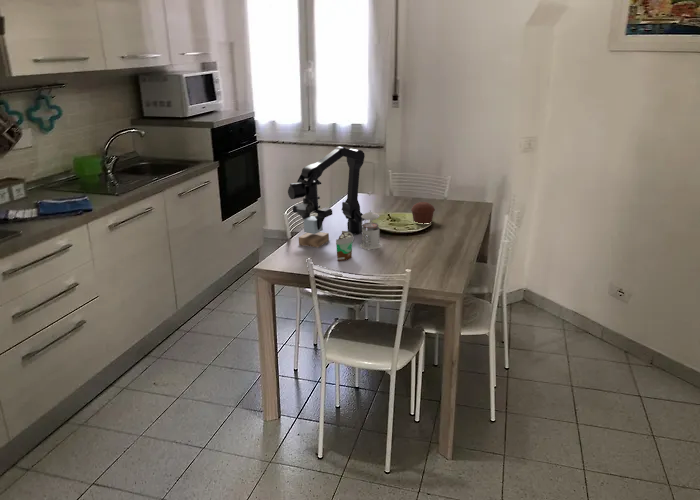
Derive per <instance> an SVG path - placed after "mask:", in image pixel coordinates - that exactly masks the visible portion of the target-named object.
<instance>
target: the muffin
mask: <svg viewBox="0 0 700 500" xmlns="http://www.w3.org/2000/svg"><path fill="white" fill-rule="evenodd" d="M410 209H411V210H410V211H411V213H412V219H413V220H412V221H413V222H414V221H415V222H418V223H423V224H424V223H430V222H431V223H432V222H433V219H434V218H433V217H434V214H435V211H436V209H435V206H433V204H432V203H429V202H427V201H420V202H417V203H415V204H413V205H412V208H410Z"/></svg>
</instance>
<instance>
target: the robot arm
mask: <svg viewBox="0 0 700 500" xmlns="http://www.w3.org/2000/svg"><path fill="white" fill-rule="evenodd" d="M365 156H366V154H365V152H364V151H363V150H361V149H356V148H349V149H348V148H346V147H345V146H336V147H335V148H334V149H333V150H332V151H331V152H329V153H328V154H326V155H325V156H324V157H322V158H321V159H320V160H318V161H317V162H313V163H311V164H308V165H306V166H303V168H302V169H301V174H300V176H299V178H298V179H297V181H296V182H295V183H293V182H292V183H289V186H288V189H287V194H288V198H290V200H296V199H300V198H301V199H302V203H298V204H295V205H293V207H292V213H296V214H297V215H299V216H301V217H302V219H305V218H308V217H310V216H311V214H312V213H315V214H317V216H315V218H316V219H317V227H318V230H320V228H321V225H322V226H323V223H324V220H325V219H326V218H327V217H330V216H332V215H333V209H332V208H330V207H323V208H321V205H320V204H319V200H320V199H321V197H320V196H318V195H319V193H318V192H319V191H318V186H319V185H322V184H323V183H322V182H321V180H319V178H320V177H321V176H322V174H323V173H324V171H325V170H326V169H329V168H330V166H332V165H333V164H335V163H336V162H337V161H339V160H341V158H343V157H345V158H346V163H347V165H348V180H347V181H348V182H347V195H346V199H345V200H344V201H342V203H341V205H342V206H341V211H342V214H343V215H344V216H345V218H346V220H347V223H346V224H347V226H346V227H347V231H348V232H350V233H352V235H353V234H354V235H359V234H362V227H363V226H362V225H363V221H364V222H365V220H364V219H363V220H362V217H361V216H362V215H363V214H364V213H362V212H361V206H360V203H359V200H358V199H359V195H358V194H359V185H360V184H359V183H360V172H361V171H360V170H361V168H362V167H363V165H364V161H365V158H366V157H365Z"/></svg>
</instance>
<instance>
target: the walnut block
mask: <svg viewBox="0 0 700 500" xmlns="http://www.w3.org/2000/svg"><path fill="white" fill-rule="evenodd" d="M329 236H330V235H329V232H322V231H320V232H318V233H316V234H312V233H307V232H304V233H303V234H302V235H299V236H298V245H299V246H304V247H305V246H306V247H310V248H311V247H312V248H319V247H321V246H323V245H324V244H326V243H328V242H329V241H330V237H329Z"/></svg>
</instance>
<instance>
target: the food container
mask: <svg viewBox="0 0 700 500" xmlns="http://www.w3.org/2000/svg"><path fill="white" fill-rule="evenodd" d="M354 240H355V238H354V235H353V234H352V233H350V232H348V230H341V234H340V235H339V237H338V238H337V239H335V245H336V257H337V262H346V261H348V260H351V259H352V256H353V255H352V254H353V241H354Z"/></svg>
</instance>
